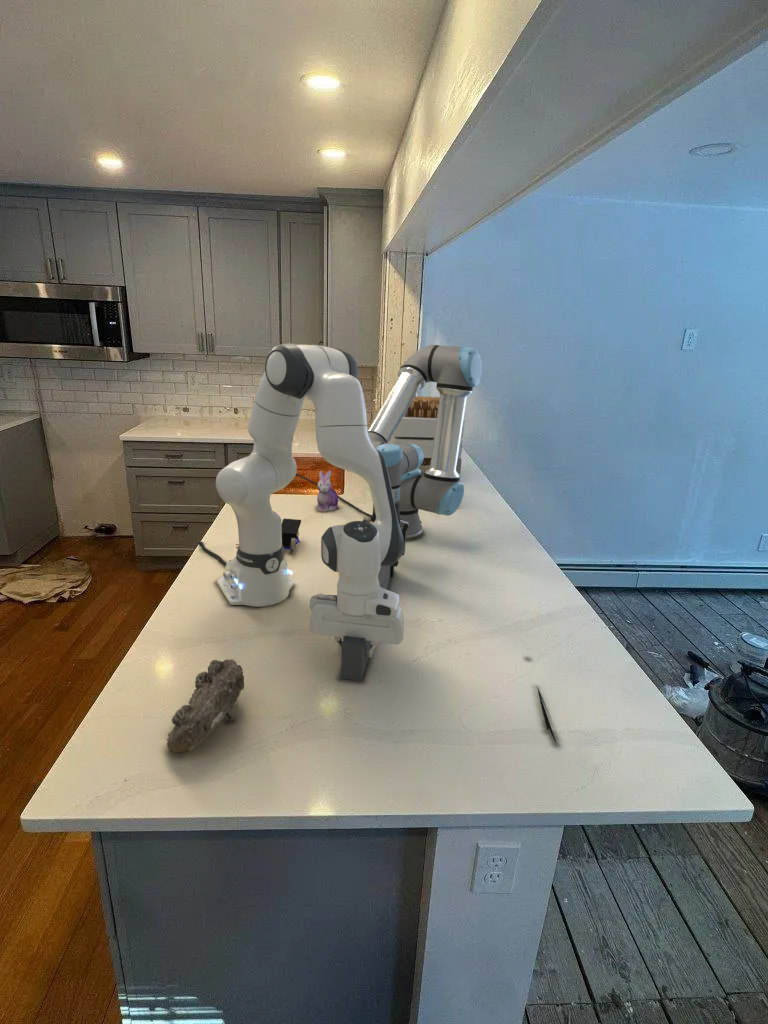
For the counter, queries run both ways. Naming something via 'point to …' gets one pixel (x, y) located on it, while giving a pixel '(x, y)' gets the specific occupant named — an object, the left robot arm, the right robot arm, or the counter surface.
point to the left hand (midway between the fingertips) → (355, 653)
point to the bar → (359, 642)
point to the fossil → (206, 705)
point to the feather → (545, 714)
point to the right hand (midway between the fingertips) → (383, 574)
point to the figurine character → (290, 533)
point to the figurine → (326, 493)
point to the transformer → (422, 428)
